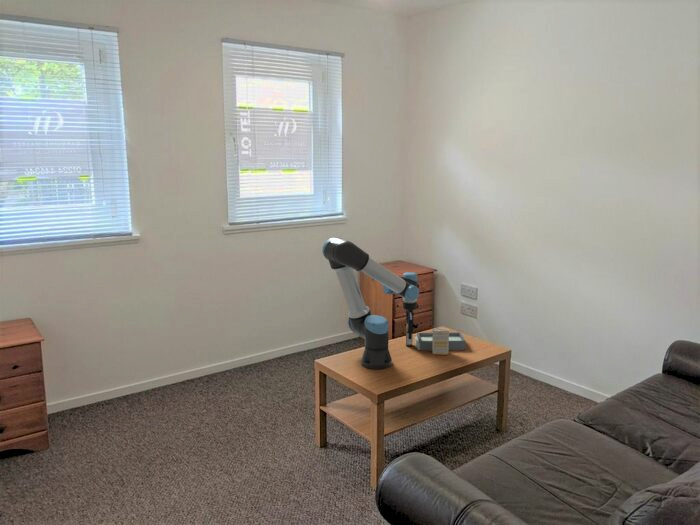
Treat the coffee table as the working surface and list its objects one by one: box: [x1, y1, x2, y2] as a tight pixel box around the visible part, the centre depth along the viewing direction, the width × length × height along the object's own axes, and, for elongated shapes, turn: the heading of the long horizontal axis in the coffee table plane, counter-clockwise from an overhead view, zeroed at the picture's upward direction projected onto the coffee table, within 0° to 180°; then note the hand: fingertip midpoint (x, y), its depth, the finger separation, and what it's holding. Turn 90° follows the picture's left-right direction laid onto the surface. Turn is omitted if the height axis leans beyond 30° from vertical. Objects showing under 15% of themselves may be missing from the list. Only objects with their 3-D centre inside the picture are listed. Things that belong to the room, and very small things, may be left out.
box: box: [414, 331, 467, 351], centre depth 298 cm, size 25×14×5 cm, turn 90°
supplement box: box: [431, 327, 450, 356], centre depth 286 cm, size 8×5×13 cm, turn 84°
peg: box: [405, 324, 414, 348], centre depth 298 cm, size 3×3×12 cm
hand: (409, 343), depth 299 cm, fingers closed on peg, 3 cm apart
